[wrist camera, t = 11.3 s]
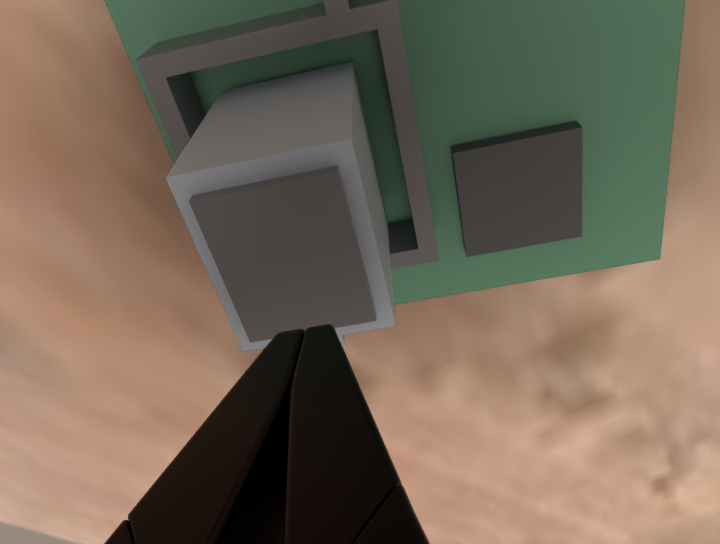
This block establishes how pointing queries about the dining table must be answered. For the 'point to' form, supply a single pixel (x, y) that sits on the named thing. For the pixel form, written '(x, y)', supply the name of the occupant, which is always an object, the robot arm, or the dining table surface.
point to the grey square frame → (287, 31)
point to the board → (490, 123)
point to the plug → (289, 207)
